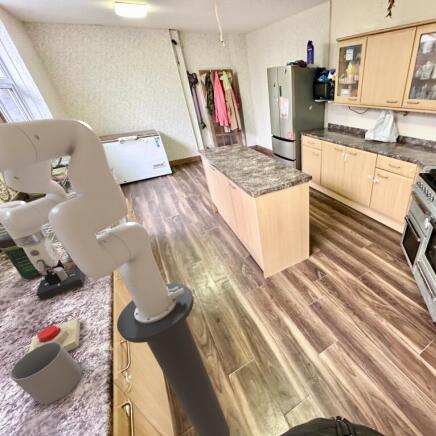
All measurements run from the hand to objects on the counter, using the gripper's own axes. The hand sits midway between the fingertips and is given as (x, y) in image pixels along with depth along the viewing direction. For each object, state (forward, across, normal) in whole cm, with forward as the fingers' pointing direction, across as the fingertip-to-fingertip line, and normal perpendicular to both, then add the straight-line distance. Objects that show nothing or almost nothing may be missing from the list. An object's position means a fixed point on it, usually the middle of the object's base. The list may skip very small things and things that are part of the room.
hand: (57, 276), depth 86 cm
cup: (+4, -46, -3) cm, 46 cm away
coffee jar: (+5, +19, +10) cm, 22 cm away
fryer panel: (+5, 0, 0) cm, 5 cm away
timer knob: (+2, 0, 0) cm, 2 cm away
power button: (+1, -31, -1) cm, 31 cm away
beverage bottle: (+5, +23, -4) cm, 24 cm away
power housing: (+4, -31, -1) cm, 31 cm away
